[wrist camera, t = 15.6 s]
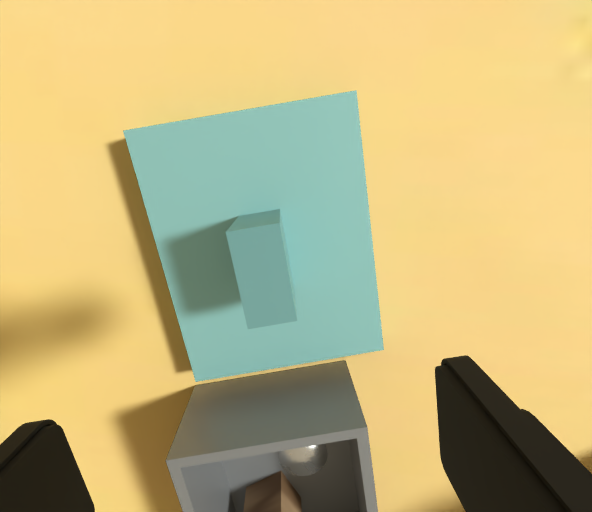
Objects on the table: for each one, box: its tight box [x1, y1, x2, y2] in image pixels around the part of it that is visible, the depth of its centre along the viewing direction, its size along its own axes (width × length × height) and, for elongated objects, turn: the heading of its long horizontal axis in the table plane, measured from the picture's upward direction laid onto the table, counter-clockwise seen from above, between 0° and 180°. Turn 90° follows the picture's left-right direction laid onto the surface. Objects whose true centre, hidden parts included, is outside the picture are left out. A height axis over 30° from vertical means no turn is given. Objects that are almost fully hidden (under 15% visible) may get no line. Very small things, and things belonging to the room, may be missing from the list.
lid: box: [123, 91, 384, 382], centre depth 23 cm, size 16×20×8 cm
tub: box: [166, 361, 378, 512], centre depth 29 cm, size 14×18×8 cm
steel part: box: [279, 444, 328, 476], centre depth 29 cm, size 4×4×4 cm
